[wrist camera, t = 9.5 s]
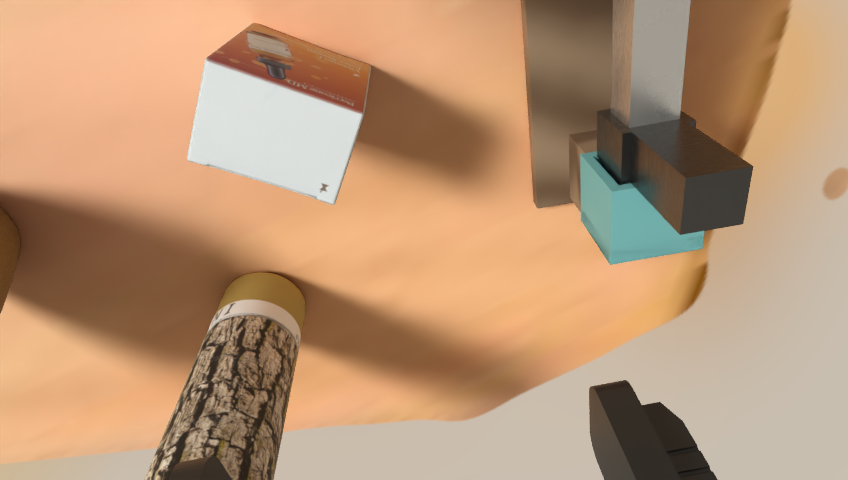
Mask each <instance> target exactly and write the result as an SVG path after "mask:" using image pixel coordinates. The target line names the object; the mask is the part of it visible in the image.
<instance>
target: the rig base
mask: <svg viewBox="0 0 848 480" xmlns="http://www.w3.org/2000/svg"><path fill="white" fill-rule="evenodd" d="M521 5H522V21H523V37H524V53H525V69H526V85H527V101H528V117H529V133H530V150H531V166H532V182H533V198H534V203H535V205H536V207H537V208H543V207H549V206H555V205H560V204H566V203H572V202H574V204H575V205H576V207H577V208H578V210H579V211H580V212H581V179H580V154H583V153H589V152H594V151H597V111H600V110H606V109H611V68H612V21H613V0H521Z"/></svg>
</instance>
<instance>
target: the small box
mask: <svg viewBox="0 0 848 480" xmlns="http://www.w3.org/2000/svg"><path fill="white" fill-rule="evenodd" d="M370 71H371V66H370V65H368V64H366V63H362V62H360V61H357V60H353V59H350V58H347V57H345V56H342V55H339V54H336V53H333V52H331V51H328V50H325V49H323V48H320V47H317V46H315V45H312V44H310V43H307V42H305V41H302V40H299V39H297V38H294V37H291V36H289V35H286V34H283V33H281V32H278V31H275V30H273V29H270V28H267V27H265V26H262V25H260V24H257V23H252V24H251V25H249V26H248V27H247V28H246V29H244V30H243V31H242V32H240V33H239V34H238V35H236V36H235V37H234V38H232V39H231V40H230V41H228V42H227V43H226V44H224V45H223V46H222V47H220V48H219V49H218V50H216V51H215V52H214V53H212V54H211V55H210V56H208V57H207V58H206V59H205V64H204V69H203V75H202V80H201V85H200V90H199V96H198V101H197V106H196V112H195V117H194V123H193V128H192V134H191V139H190V145H189V150H188V155H187V159H188V161H190V162H193V163H198V164H201V165H205V166H209V167H213V168H217V169H220V170H224V171H227V172H231V173H234V174H237V175H241V176H244V177H248V178H251V179H254V180H258V181H261V182H264V183H267V184H271V185H274V186H277V187H281V188H284V189H287V190H290V191H294V192H297V193H300V194H303V195H306V196H309V197H312V198H315V199H317V200H320V201H323V202H326V203H328V204H331V205H334V204H335V202H336V199H337V196H338V193H339V190H340V187H341V184H342V181H343V178H344V175H345V172H346V169H347V166H348V163H349V160H350V157H351V154H352V151H353V148H354V145H355V142H356V139H357V135H358V132H359V129H360V126H361V123H362V120H363V117H364V113H365V107H366V99H367V92H368V86H369V79H370Z"/></svg>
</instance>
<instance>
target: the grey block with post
mask: <svg viewBox="0 0 848 480" xmlns="http://www.w3.org/2000/svg"><path fill="white" fill-rule="evenodd" d="M690 3H691V0H613V21H612V68H611V109H606V110H600V111H597V157H598V158H599V160H600V161H601V162H602V163H603V164H604V165H605V166H606V167H607V168H608V170H609V171H610V172H611V173H612V174H613V179H614V181H615V182H616V183H617V184H618V185H623V184H629V183H631V184H632V185H633V186H634V187H635V188H636V189H637V190H638V191H639V192H640V193H641V194H642V195H643V196H644V198H645V199H646V200H647V201H648V202H649V203H650V204H651V205H652V206H653V207H654V208H655V209H656V210H657V211H658V212H659V213H660V215H661V216H662V217H663V218H664V219H665V220H666V221H667V222H668V223H669V224H670V225H671V226H672V227H673V228H674V229H675V230H676V232H677V233H678V234H679V235H683V234H688V233H694V232H700V231H706V230H711V229H717V228H723V227H729V226H734V225H740V224H743V221H744V216H745V210H746V204H747V198H748V193H749V187H750V181H751V176H752V170H753V166H752V165H750V164H749V163H747V162H746V161H744V160H743V159H741V158H740V157H738V156H737V155H735V154H734V153H732V152H731V151H729V150H728V149H726V148H725V147H723V146H722V145H720V144H719V143H717V142H716V141H714V140H713V139H711V138H710V137H708V136H707V135H705V134H704V133H702V132H701V131H699V130H698V129H696V128H695V127H696V120H695V119H693V118H691V117H690V116H688V115H687V114H685V113H684V112H682V111H681V101H682V90H683V79H684V68H685V57H686V46H687V36H688V25H689V14H690Z"/></svg>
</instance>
